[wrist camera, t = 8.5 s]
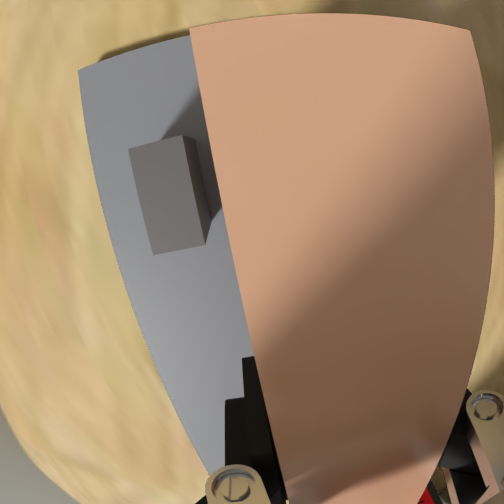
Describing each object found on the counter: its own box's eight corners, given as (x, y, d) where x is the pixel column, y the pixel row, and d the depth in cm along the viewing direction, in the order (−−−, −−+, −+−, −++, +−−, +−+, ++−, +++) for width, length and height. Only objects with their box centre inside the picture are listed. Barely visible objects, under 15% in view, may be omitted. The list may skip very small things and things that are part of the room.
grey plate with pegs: (88, 74, 10) (38, 52, 6) (411, 31, 10) (462, 5, 6) (216, 475, 18) (215, 522, 14) (412, 430, 18) (434, 469, 14)
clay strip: (212, 97, 8) (189, 27, 3) (355, 80, 8) (469, 30, 3) (292, 492, 13) (306, 568, 8) (364, 474, 13) (390, 545, 8)
